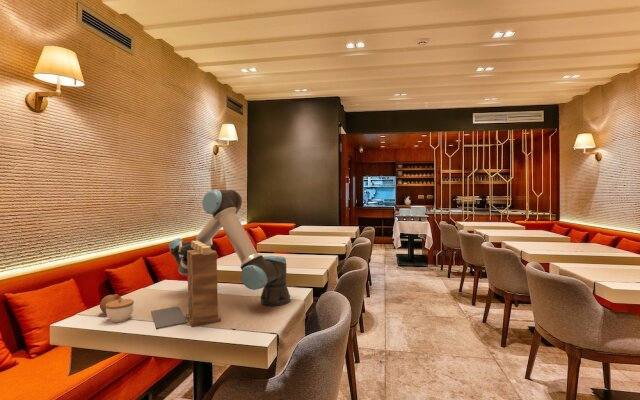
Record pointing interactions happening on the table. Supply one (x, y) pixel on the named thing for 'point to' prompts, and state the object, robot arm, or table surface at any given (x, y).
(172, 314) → the rubber mat
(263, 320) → the table surface
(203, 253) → the maple bar
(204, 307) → the walnut pedestal
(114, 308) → the lidded jar
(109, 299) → the onion
